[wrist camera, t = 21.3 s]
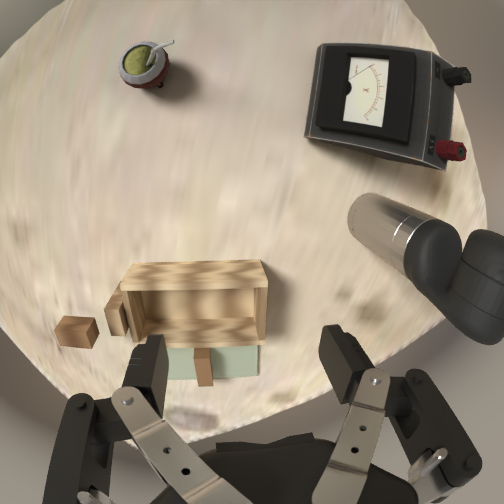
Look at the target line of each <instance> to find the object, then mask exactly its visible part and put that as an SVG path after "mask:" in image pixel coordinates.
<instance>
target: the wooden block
mask: <svg viewBox="0 0 504 504" xmlns="http://www.w3.org/2000/svg"><path fill="white" fill-rule="evenodd" d="M54 331H55V334H56V336H57V339H58V341H59V344H60V346H67V347H76V348H87V349H92V347H93V345H94V343H95V341H96V339H97V337H98V335H99V330H98V327H97V324H96V320H95V318H93V317H75V316H63V318H62V319H61V321H60V322H59V324H58V325H57V326H56V328H55V329H54Z"/></svg>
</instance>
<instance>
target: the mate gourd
mask: <svg viewBox="0 0 504 504" xmlns="http://www.w3.org/2000/svg"><path fill="white" fill-rule="evenodd" d="M171 44H174V40H171V41H168V42H165V43H163V44H160V45H158V44H155V43H153V42H140V43H137V44H134V45H133V46H131V47H130V48H129V49H127V50H126V51H125V53H124V54H123V55H122V57H121V59H120V62H119V73H120V76H121V77H122V79H123V80H124V81H125V83H126V84H128V85H130V86H132V87H134V88H143V89H145V88H149V87H153V86H155V85H157V86H158V87H159V88H161V87H163V83H162V82H161V81H162V80H163V78H164V77H165V75H166V74H167V70H168V67H169V59H168V54H167V53H166V51H165V50H164V49H163V48H164V47H166V46H169V45H171Z"/></svg>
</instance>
